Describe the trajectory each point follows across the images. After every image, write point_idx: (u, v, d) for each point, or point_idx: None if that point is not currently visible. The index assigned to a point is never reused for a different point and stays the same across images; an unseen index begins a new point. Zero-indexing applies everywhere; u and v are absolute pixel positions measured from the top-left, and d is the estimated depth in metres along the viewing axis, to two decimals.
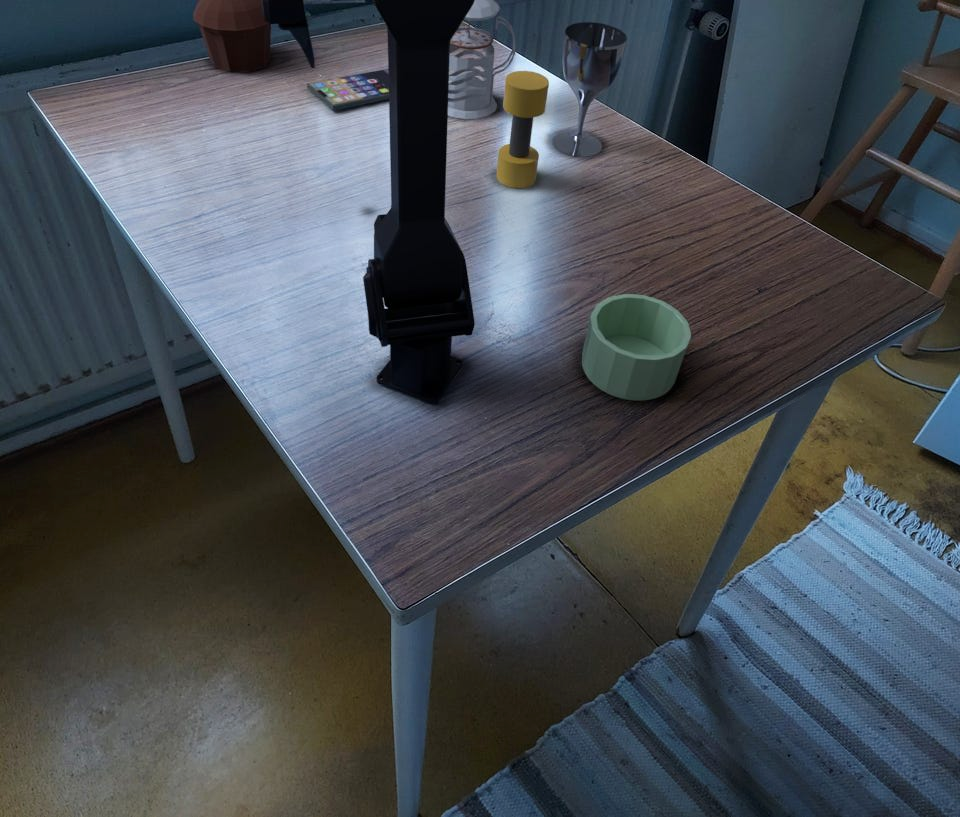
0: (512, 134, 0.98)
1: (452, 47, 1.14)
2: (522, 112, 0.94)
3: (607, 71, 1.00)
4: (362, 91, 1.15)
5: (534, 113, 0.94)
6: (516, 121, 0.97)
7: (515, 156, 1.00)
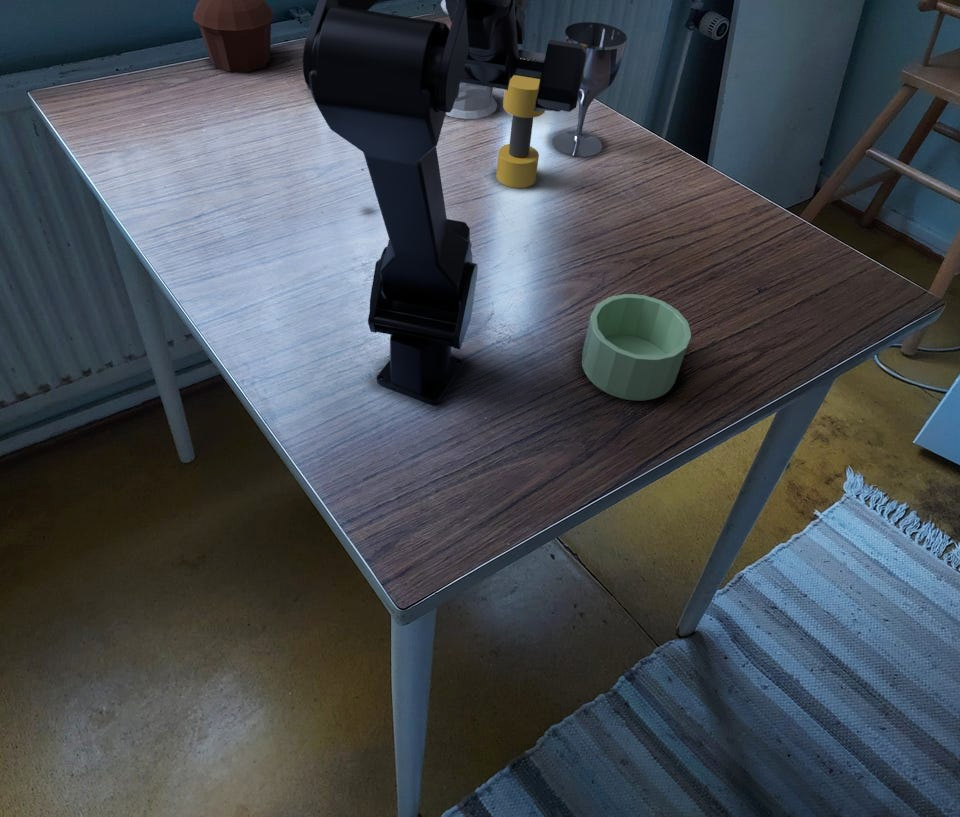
0: (512, 134, 0.98)
1: None
2: (522, 112, 0.94)
3: (607, 71, 1.00)
4: None
5: (534, 113, 0.94)
6: (516, 121, 0.97)
7: (515, 156, 1.00)
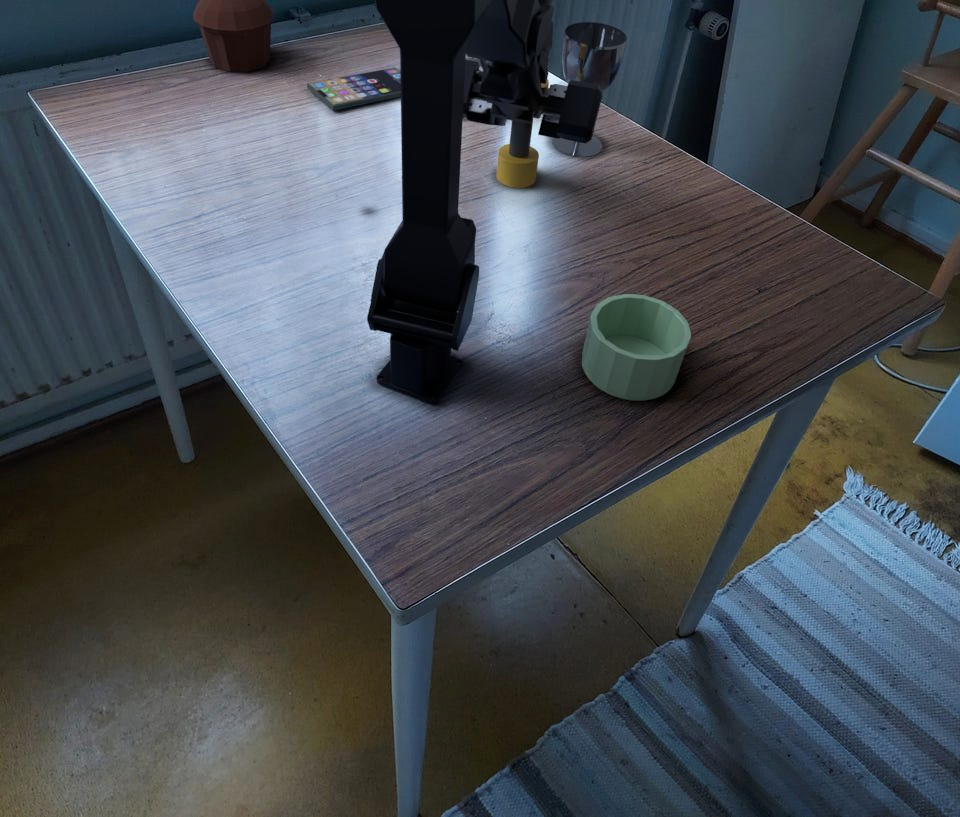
0: (512, 134, 0.98)
1: None
2: None
3: (607, 70, 1.00)
4: (362, 91, 1.15)
5: None
6: (516, 121, 0.97)
7: (515, 156, 1.00)
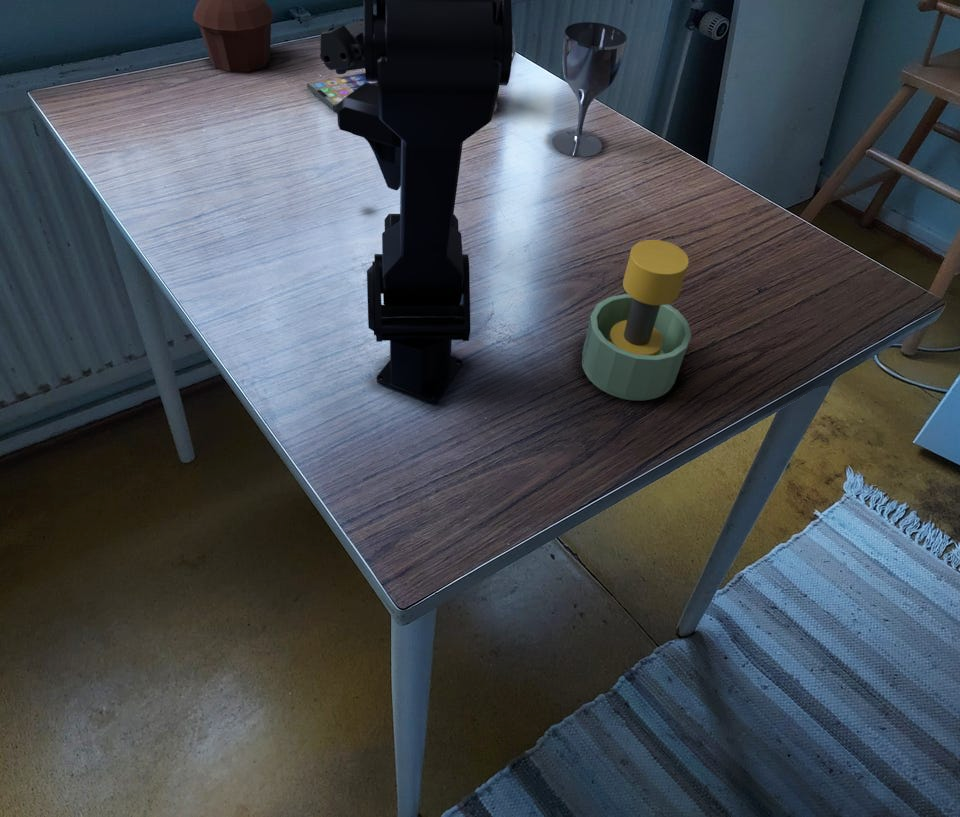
0: None
1: None
2: (626, 284, 0.71)
3: (607, 71, 1.00)
4: None
5: (636, 295, 0.70)
6: None
7: (624, 335, 0.76)
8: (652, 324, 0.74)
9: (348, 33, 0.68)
